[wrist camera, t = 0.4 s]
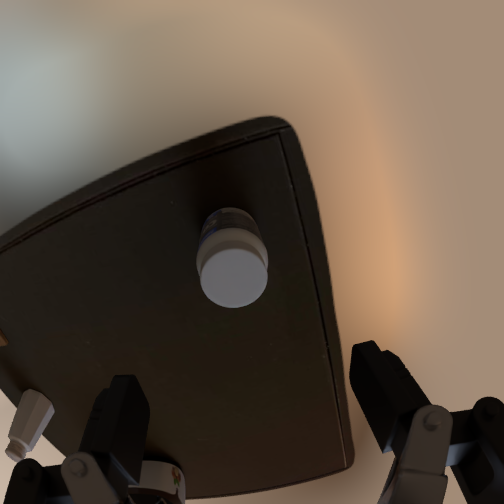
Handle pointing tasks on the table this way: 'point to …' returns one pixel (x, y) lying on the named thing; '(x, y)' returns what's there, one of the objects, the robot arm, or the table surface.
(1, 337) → the coaster
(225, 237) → the pill bottle
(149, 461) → the spread jar
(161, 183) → the table surface
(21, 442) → the pepper shaker
